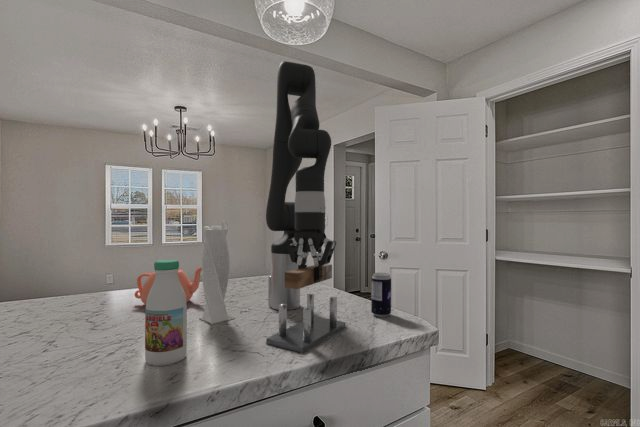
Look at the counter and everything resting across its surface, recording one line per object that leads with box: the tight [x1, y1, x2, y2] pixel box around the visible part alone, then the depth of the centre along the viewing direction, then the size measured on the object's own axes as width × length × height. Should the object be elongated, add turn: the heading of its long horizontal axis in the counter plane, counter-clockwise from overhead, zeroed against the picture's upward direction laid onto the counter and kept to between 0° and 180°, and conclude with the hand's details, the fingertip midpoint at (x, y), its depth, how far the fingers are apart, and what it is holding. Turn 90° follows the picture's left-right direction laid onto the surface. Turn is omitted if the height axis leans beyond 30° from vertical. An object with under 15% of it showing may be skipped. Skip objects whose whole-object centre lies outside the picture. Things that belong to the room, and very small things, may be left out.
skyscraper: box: [199, 219, 236, 326], centre depth 95 cm, size 8×8×28 cm
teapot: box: [134, 266, 202, 306], centre depth 112 cm, size 22×16×12 cm
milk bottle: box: [144, 259, 188, 367], centre depth 70 cm, size 8×8×20 cm
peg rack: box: [265, 293, 347, 354], centre depth 84 cm, size 10×20×8 cm, turn 149°
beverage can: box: [370, 272, 392, 318], centre depth 101 cm, size 6×6×12 cm
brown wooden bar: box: [285, 263, 333, 290], centre depth 84 cm, size 16×4×4 cm, turn 149°
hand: (310, 280), depth 84 cm, fingers closed on brown wooden bar, 3 cm apart
